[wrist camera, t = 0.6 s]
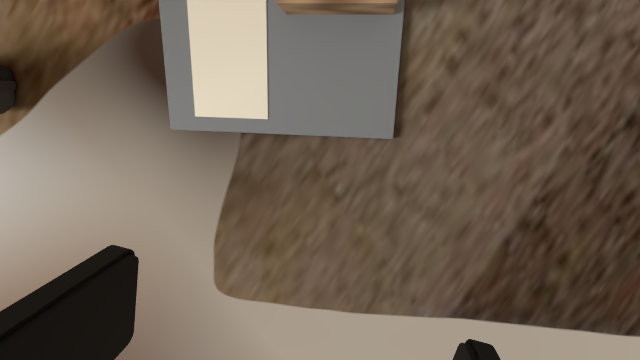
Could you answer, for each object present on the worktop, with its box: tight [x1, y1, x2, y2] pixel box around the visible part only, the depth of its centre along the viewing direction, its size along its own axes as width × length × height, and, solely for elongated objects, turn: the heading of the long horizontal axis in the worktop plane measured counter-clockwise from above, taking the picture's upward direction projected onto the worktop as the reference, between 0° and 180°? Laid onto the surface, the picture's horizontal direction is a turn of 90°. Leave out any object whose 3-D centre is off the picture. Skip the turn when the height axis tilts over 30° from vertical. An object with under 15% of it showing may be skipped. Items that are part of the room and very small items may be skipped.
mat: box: [159, 0, 405, 139], centre depth 32 cm, size 24×18×1 cm
